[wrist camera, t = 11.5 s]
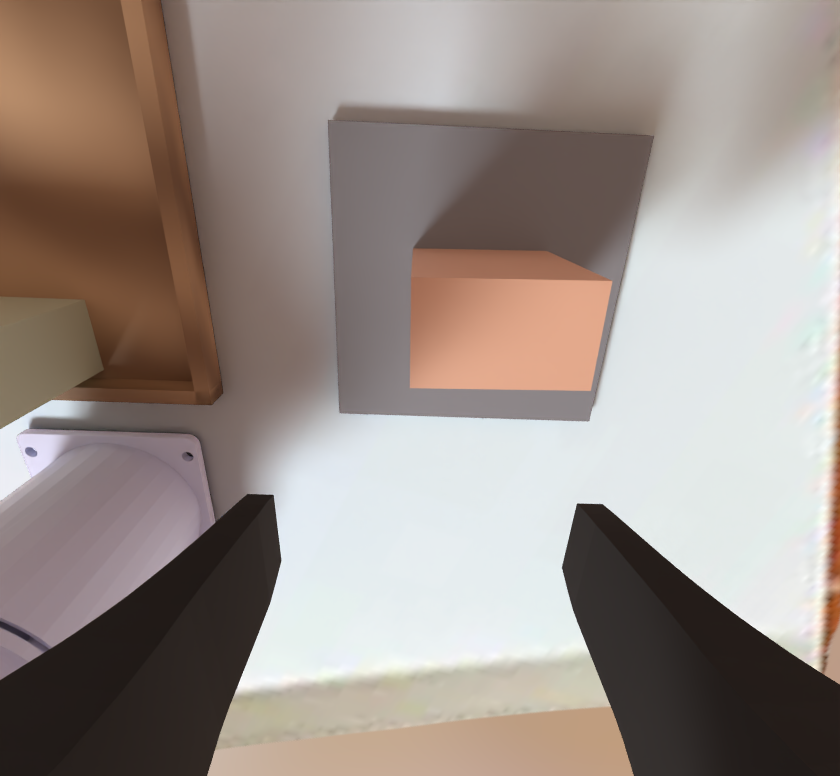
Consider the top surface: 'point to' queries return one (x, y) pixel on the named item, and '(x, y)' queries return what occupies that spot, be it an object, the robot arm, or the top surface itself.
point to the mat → (465, 241)
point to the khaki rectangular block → (43, 352)
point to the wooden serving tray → (104, 193)
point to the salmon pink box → (504, 320)
